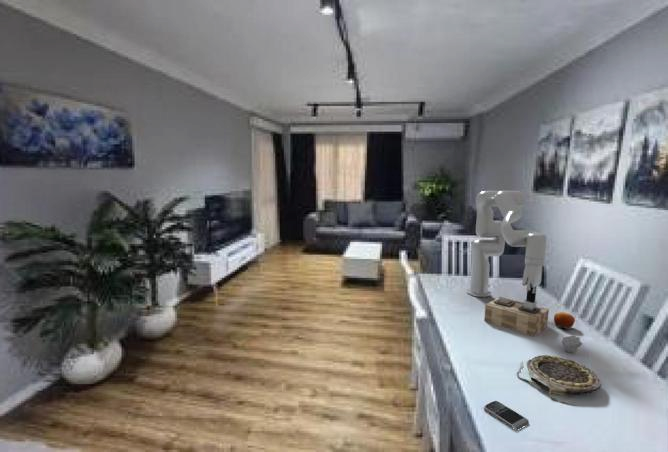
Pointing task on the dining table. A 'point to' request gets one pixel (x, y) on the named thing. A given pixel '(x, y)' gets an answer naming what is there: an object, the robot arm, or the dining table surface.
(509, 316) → the oak block
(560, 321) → the fruit
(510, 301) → the walnut peg
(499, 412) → the cell phone
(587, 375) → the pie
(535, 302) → the grey metal peg
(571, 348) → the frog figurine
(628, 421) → the dining table surface
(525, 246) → the robot arm
